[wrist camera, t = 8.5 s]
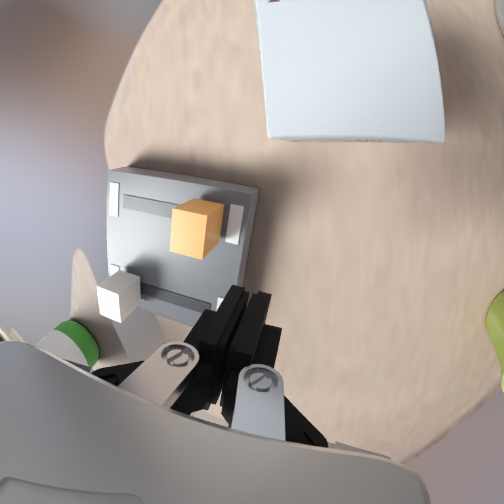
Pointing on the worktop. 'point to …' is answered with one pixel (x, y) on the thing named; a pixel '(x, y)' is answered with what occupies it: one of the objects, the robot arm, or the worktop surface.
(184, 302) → the slider switch panel
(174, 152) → the worktop surface
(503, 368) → the plant pot
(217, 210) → the block
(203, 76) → the worktop surface
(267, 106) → the supplement box
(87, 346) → the wine bottle
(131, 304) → the white slider switch
